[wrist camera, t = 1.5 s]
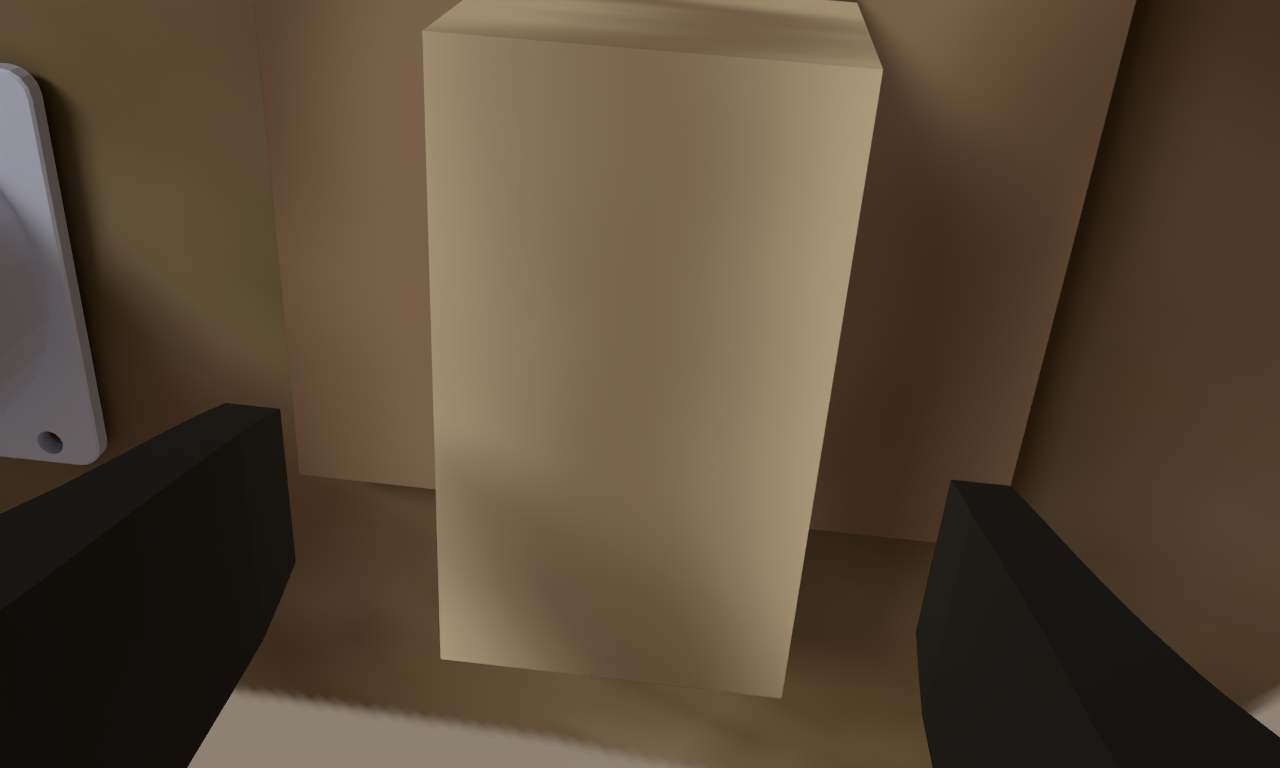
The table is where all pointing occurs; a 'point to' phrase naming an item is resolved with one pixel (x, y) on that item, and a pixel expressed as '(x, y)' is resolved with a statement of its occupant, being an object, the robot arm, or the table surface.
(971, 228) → the walnut board
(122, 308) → the table surface
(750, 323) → the block
